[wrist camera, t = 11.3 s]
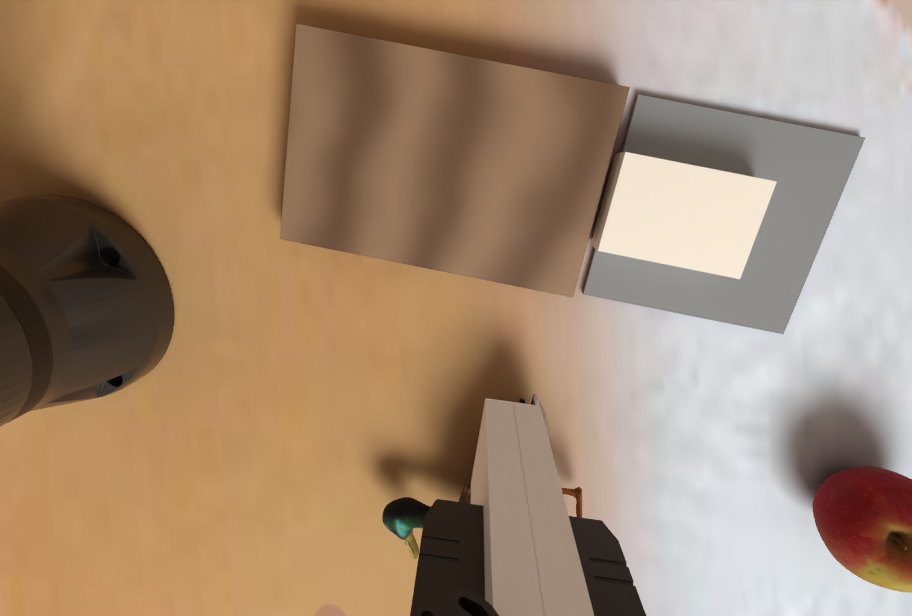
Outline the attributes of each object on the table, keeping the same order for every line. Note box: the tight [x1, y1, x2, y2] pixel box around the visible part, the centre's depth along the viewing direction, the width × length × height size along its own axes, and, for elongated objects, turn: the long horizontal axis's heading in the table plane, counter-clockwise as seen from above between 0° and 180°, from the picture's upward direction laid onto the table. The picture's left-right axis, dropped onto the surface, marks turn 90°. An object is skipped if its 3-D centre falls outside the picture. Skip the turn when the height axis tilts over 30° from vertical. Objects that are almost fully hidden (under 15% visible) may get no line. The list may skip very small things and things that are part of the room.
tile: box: [591, 152, 777, 279], centre depth 30 cm, size 9×6×2 cm, turn 79°
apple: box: [813, 466, 912, 593], centre depth 33 cm, size 8×8×8 cm
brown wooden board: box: [280, 24, 630, 297], centre depth 31 cm, size 20×13×2 cm, turn 79°
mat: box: [583, 95, 865, 334], centre depth 31 cm, size 14×13×1 cm
